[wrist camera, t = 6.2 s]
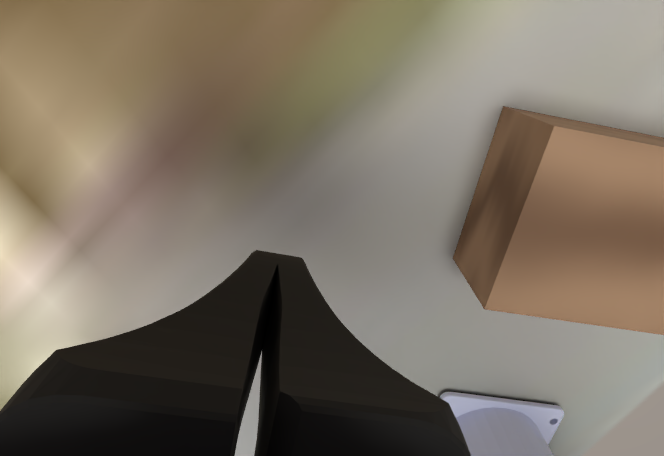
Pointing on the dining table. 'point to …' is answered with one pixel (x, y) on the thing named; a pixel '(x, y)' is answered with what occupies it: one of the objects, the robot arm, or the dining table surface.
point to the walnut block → (568, 223)
